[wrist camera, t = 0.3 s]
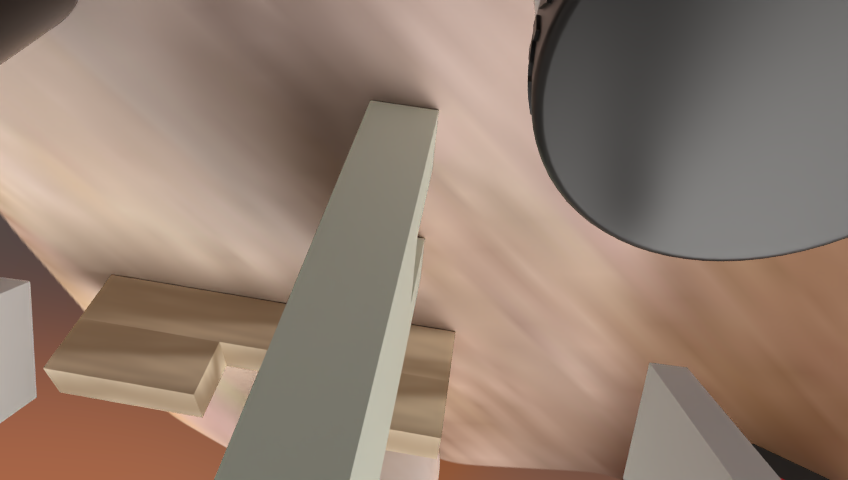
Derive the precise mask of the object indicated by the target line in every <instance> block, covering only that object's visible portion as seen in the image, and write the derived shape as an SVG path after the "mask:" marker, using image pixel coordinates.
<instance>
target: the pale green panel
mask: <svg viewBox="0 0 848 480" xmlns="http://www.w3.org/2000/svg"><path fill="white" fill-rule="evenodd" d="M438 113H439V110H433V109H426V108H419V107H413V106H406V105H399V104H392V103H385V102H379V101H372V100H370V102H369V105H368V107H367V110H366V112H365V115H364V117H363V119H362V122H361V124H360V127H359V129H358V131H357V134H356V136H355V139H354V141H353V144H352V146H351V148H350V151H349V153H348V156H347V158H346V161H345V163H344V165H343V168H342V170H341V173H340V175H339V178H338V180H337V182H336V185H335V187H334V190H333V192H332V195H331V197H330V199H329V202H328V204H327V207H326V209H325V212H324V214H323V216H322V219H321V221H320V224H319V226H318V229H317V231H316V233H315V236H314V238H313V241H312V243H311V246H310V248H309V250H308V253H307V255H306V258H305V260H304V263H303V265H302V267H301V270H300V272H299V275H298V277H297V280H296V282H295V284H294V287H293V289H292V292H291V294H290V297H289V299H288V301H287V304H286V306H285V309H284V311H283V314H282V316H281V318H280V321H279V323H278V326H277V328H276V331H275V333H274V335H273V338H272V340H271V343H270V345H269V348H268V350H267V352H266V355H265V357H264V360H263V362H262V365H261V367H260V369H259V372H258V374H257V377H256V379H255V381H254V384H253V386H252V389H251V391H250V394H249V396H248V398H247V401H246V403H245V406H244V408H243V411H242V413H241V415H240V418H239V420H238V423H237V425H236V428H235V430H234V432H233V435H232V437H231V440H230V442H229V445H228V447H227V449H226V452H225V454H224V457H223V459H222V462H221V464H220V466H219V469H218V472H217V474H216V476H215V479H214V480H379V479H380V474H381V470H382V465H383V460H384V455H385V450H386V445H387V440H388V435H389V430H390V425H391V420H392V416H393V411H394V406H395V401H396V396H397V391H398V386H399V381H400V376H401V371H402V366H403V362H404V357H405V352H406V347H407V342H408V337H409V332H410V327H411V322H412V317H413V312H414V308H415V303H416V298H417V293H418V288H419V283H420V277H421V268H422V259H423V249H424V240H425V239H424V238H418V237H417V236H418V231H419V227H420V222H421V218H422V213H423V209H424V205H425V200H426V196H427V191H428V187H429V182H430V178H431V173H432V168H433V158H434V149H435V140H436V131H437V122H438Z"/></svg>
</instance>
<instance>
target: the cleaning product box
mask: <svg viewBox="0 0 848 480" xmlns="http://www.w3.org/2000/svg"><path fill="white" fill-rule="evenodd" d="M752 445H753V447H754V448H755V449H756V450H757V451H758V452H759V454H760V455H761V456H762V457H763V458H764V460H765V461H766V462H767V463H768V464H769V466H770V467H771V468H772V469H773V470H774V471H775V473H776V474H777V475H778V476H779V477H780V479H781V480H829V479H827V478H825V477H823V476H821V475H819V474H816V473H814V472H812V471H810V470H808V469H806V468H804V467H802V466H799V465H797V464H795V463H793V462H791V461H789V460H787V459H784V458H782V457H780V456H778V455H776V454H774V453H772V452H770V451H767V450H765V449H763V448H761V447H759V446H757V445H755V444H752Z"/></svg>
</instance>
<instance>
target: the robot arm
mask: <svg viewBox="0 0 848 480" xmlns="http://www.w3.org/2000/svg"><path fill="white" fill-rule="evenodd" d="M36 397H37V395H36V378H35V360H34V343H33V325H32V307H31V289H30V281H25V280H17V279H10V278H1V277H0V423H1V422H2V421H4V420H5V419H7V418H8V417H9V416H11V415H12V414H14V413H15V412H16V411H18V410H19V409H21V408H22V407H24V406H25V405H26V404H28V403H29V402H31V401H32V400H34V399H35V398H36ZM623 480H781V479H780V477H779V476H778V475H777V474H776V473H775V471H774V470H773V469H772V468H771V467H770V466H769V464H768V463H767V462H766V461H765V460H764V458H763V457H762V456H761V455H760V454H759V452H758V451H757V450H756V449H755V448H754V447H753V445H752V444H751V443H750V442H749V441H748V439H747V438H746V437H745V436H744V435H743V433H742V432H741V431H740V430H739V429H738V428H737V426H736V425H735V424H734V423H733V422H732V420H731V419H730V418H729V417H728V416H727V414H726V413H725V412H724V411H723V410H722V409H721V407H720V406H719V405H718V404H717V403H716V401H715V400H714V399H713V398H712V397H711V395H710V394H709V393H708V392H707V391H706V389H705V388H704V387H703V386H702V385H701V384H700V382H699V381H698V380H697V379H696V378H695V376H694V375H693V374H692V373H691V372H690V370H689V369H688V368H687V367H679V366H671V365H664V364H656V363H649V367H648V372H647V376H646V380H645V385H644V389H643V393H642V398H641V402H640V406H639V411H638V415H637V419H636V424H635V428H634V432H633V437H632V441H631V445H630V450H629V454H628V458H627V463H626V467H625V471H624V476H623Z"/></svg>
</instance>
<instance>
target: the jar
mask: <svg viewBox="0 0 848 480" xmlns="http://www.w3.org/2000/svg"><path fill="white" fill-rule="evenodd" d="M534 10H535V21H534V25H533V35H532V41H531V44H530V48H529V65H528V100H529V108H530V114H531V115H532V122H533V130H534V135H535V140H536V144H537V147H538V150H539V154H540V157H541V159H542V162H543V164H544V166H545V168H546V170H547V173H548V175H549V177H550V178H551V180H552V181H553V183H554V185H555V186H556V188H557V189H558V191H559V192H560V193H561V195H562V196H563V197H564V198H565V200H566V201H567V202H568V203H569V204H570V205H571V206H572V207H573V208H574V209H575V210H576V211H577V212H578V213H579V214H580V215H582V216H583V217H584V218H585V219H586V220H588V221H589V222H590V223H592V224H593V225H595V226H596V227H598V228H599V229H601V230H602V231H604V232H606V233H607V234H609V235H611V236H613V237H615V238H617V239H619V240H621V241H623V242H625V243H628V244H630V245H632V246H635V247H638V248H641V249H644V250H647V251H650V252H654V253H658V254H662V255H666V256H671V257H677V258H683V259H692V260H702V261H743V260H753V259H763V258H770V257H776V256H783V255H787V254H792V253H797V252H801V251H805V250H809V249H813V248H816V247H820V246H824V245H827V244H830V243H833V242H836V241H839V240H842V239H845V238H848V0H534Z"/></svg>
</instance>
